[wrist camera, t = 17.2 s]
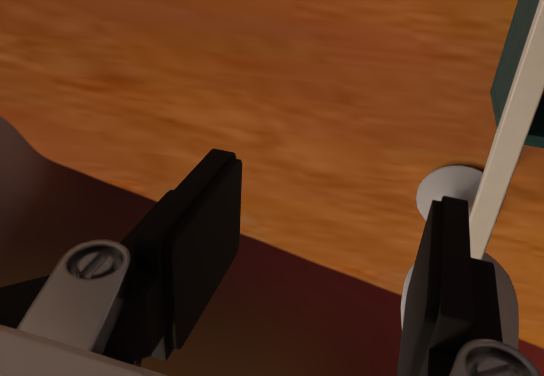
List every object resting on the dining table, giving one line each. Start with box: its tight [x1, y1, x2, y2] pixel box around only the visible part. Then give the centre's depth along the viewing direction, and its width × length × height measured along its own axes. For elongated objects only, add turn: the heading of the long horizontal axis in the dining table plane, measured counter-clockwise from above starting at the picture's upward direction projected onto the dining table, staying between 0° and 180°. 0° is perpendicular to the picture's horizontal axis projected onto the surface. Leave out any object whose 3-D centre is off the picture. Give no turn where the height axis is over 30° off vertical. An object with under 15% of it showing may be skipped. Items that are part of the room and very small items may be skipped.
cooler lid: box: [469, 0, 544, 260], centre depth 23 cm, size 18×14×1 cm
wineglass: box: [401, 165, 519, 350], centre depth 39 cm, size 8×8×21 cm
